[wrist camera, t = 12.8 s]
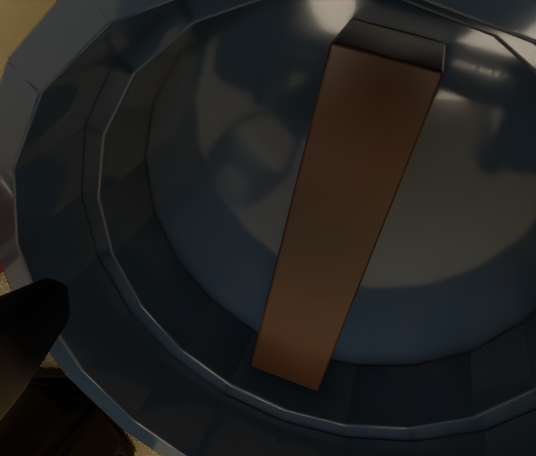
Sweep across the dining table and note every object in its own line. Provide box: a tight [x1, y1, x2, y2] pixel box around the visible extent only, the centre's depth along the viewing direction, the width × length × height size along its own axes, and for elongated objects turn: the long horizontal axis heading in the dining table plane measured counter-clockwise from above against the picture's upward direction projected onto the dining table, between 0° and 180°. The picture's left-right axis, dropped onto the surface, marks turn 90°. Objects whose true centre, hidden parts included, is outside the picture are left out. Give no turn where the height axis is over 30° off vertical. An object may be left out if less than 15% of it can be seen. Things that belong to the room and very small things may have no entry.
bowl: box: [0, 0, 536, 456], centre depth 12 cm, size 15×15×6 cm
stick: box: [251, 19, 445, 391], centre depth 13 cm, size 10×2×2 cm, turn 170°
